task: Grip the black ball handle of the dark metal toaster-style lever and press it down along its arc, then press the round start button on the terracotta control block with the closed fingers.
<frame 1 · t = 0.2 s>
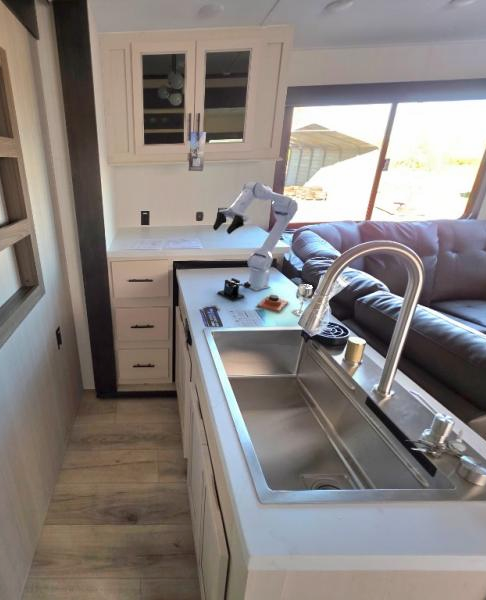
hand: (220, 230, 130), 31 cm above the counter, tool tilted 45°, fingers open, 7 cm apart
start button: (273, 298, 135), point 3 cm above the counter, slide at 0.1 cm
wineglass: (299, 313, 129), on the counter
lever: (239, 284, 140), point 7 cm above the counter, hinge at 15.0°
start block: (272, 305, 136), on the counter
bracket: (230, 296, 146), on the counter
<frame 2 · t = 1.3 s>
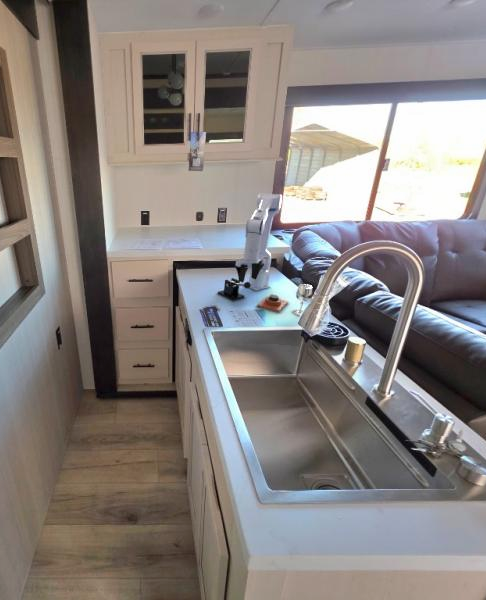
hand: (247, 280, 135), 11 cm above the counter, tool pointing down, fingers open, 7 cm apart
nothing on the counter moved.
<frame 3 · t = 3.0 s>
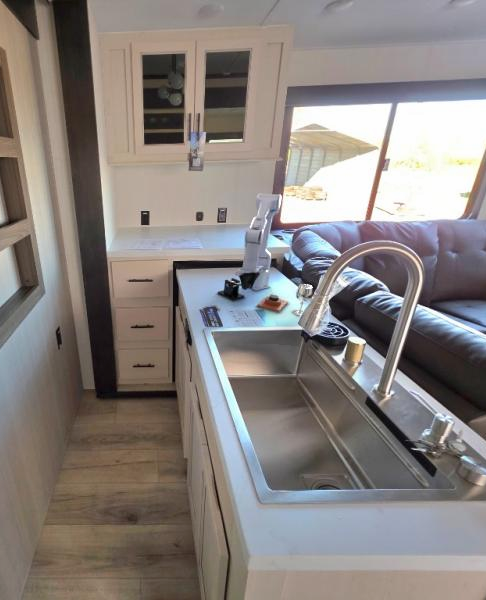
hand: (246, 288, 136), 7 cm above the counter, tool pointing down, fingers closed on lever, 3 cm apart
lever: (239, 284, 140), point 7 cm above the counter, hinge at 15.0°, touching gripper
everything else where it was.
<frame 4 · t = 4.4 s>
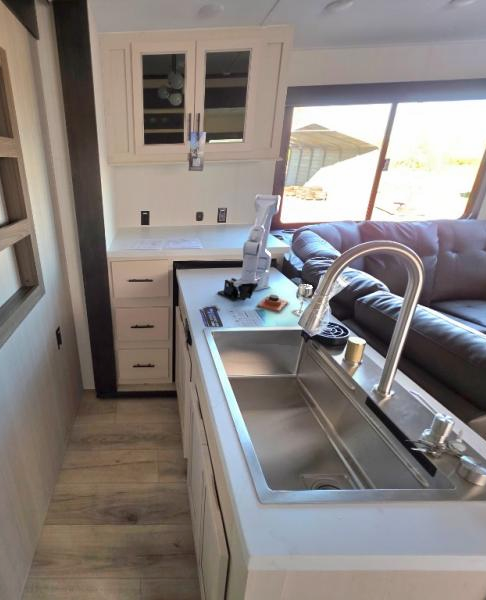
hand: (245, 298, 138), 2 cm above the counter, tool pointing down, fingers closed on lever, 3 cm apart
lever: (238, 289, 141), point 5 cm above the counter, hinge at -14.4°, touching gripper
everything else where it was.
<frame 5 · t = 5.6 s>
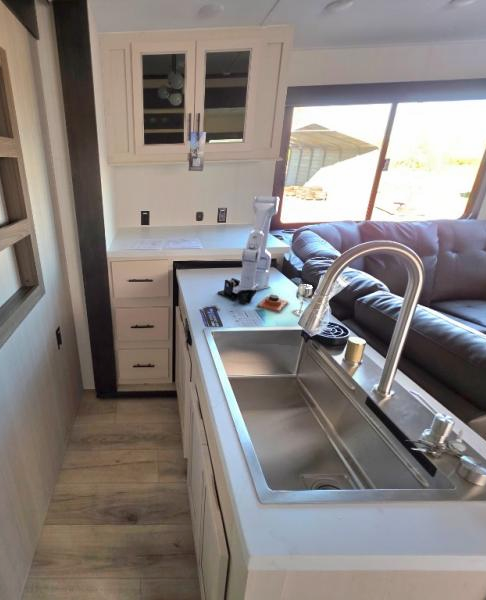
hand: (244, 304, 140), 0 cm above the counter, tool pointing down, fingers closed on lever, 3 cm apart
lever: (238, 290, 141), point 4 cm above the counter, hinge at -25.9°, touching gripper
everything else where it was.
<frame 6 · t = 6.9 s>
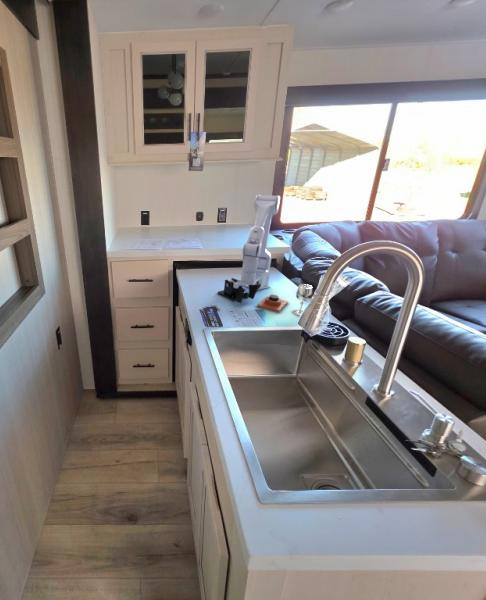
hand: (245, 300, 139), 1 cm above the counter, tool pointing down, fingers open, 7 cm apart
lever: (238, 289, 141), point 5 cm above the counter, hinge at -17.5°
everything else where it was.
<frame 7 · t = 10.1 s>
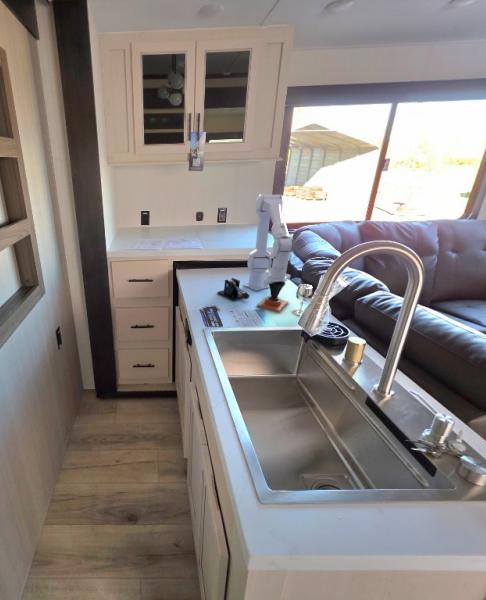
hand: (273, 297, 135), 4 cm above the counter, tool pointing down, fingers closed, pressing on start button
start button: (273, 299, 135), point 3 cm above the counter, slide at -0.4 cm, touching gripper
everything else where it was.
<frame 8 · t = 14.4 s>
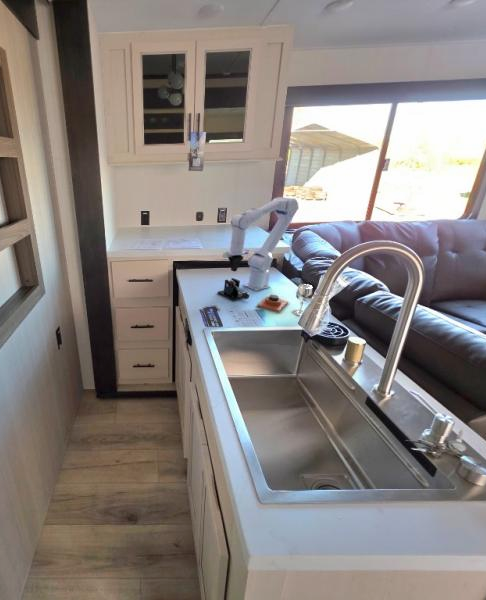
hand: (233, 270, 147), 10 cm above the counter, tool pointing down, fingers closed
start button: (273, 298, 135), point 3 cm above the counter, slide at 0.1 cm
everything else where it was.
at the end: lever at -18° (first picture: +15°); start button pushed in 1.2 cm at the most during the clip, back to where it started at the end; start button slide at 0.1 cm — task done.
